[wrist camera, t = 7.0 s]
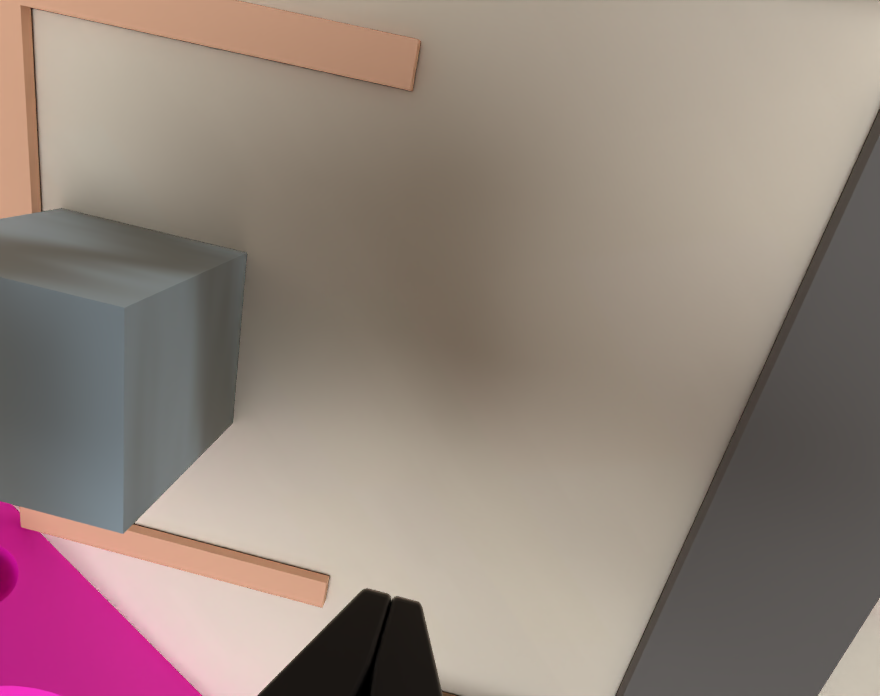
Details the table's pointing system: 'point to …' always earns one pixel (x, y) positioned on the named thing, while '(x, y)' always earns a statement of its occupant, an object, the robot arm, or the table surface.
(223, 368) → the cube
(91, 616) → the toy block
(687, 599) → the grey flat board
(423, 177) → the table surface
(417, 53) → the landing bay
